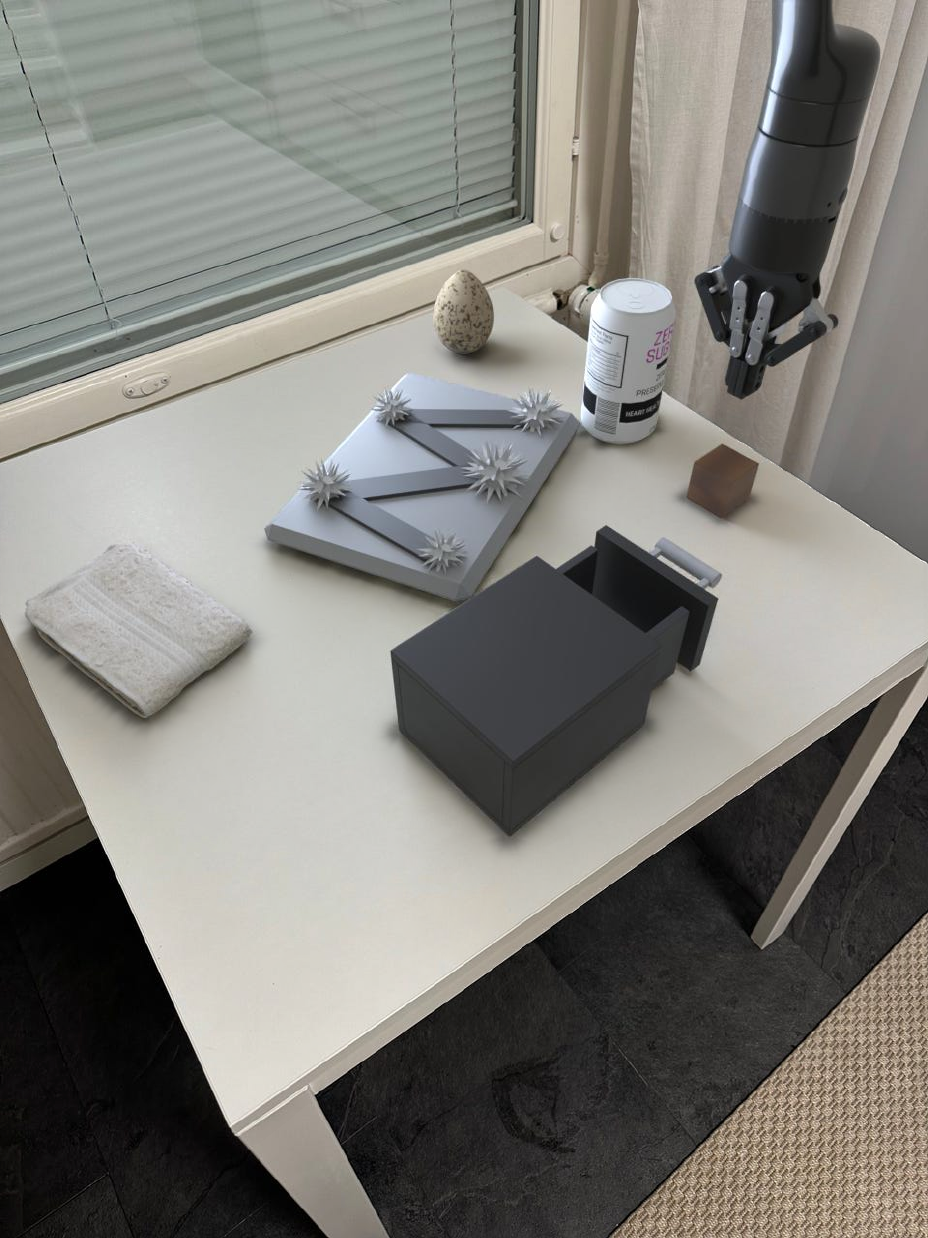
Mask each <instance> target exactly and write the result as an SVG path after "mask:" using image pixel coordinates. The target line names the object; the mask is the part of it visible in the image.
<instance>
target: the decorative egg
mask: <svg viewBox="0 0 928 1238" xmlns="http://www.w3.org/2000/svg"><path fill="white" fill-rule="evenodd" d="M491 298H492V297H491V296H490V293H489V291H488V290H487V288H486V286H485V285H484V284H483V282H482V281H481V279H479V278H478V277H477V275H475V274H474V273H473V272H472V271H470V270H468V269H460V270H457V271H456V272H454V273H453V274H452V275H451V276H449V278H448V279H447V280H446V281H445V282H444V284H443V285H442V287H441V289H440V290H439V292H438V294H437V297H436V300H435V302H434V307H433V316H432V317H433V318H432V319H433V326H434V330H435V333H436V335H437V338H438V339H439V341H440V342H441V343H442V344H443V346H444V347H445V348H447V349H448V350H450V351H451V352H453V353H456V354H462V355H465V354H471V353H474V352H476V351H477V350H479V349H481V348H482V347H483V346H484V345H485V344H486V343H487V342H488V340H489V339H490V336H491V334H492V331H493V327H494V323H495V311H494V305H493V301H492V299H491Z"/></svg>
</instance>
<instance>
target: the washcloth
mask: <svg viewBox="0 0 928 1238" xmlns="http://www.w3.org/2000/svg"><path fill="white" fill-rule="evenodd" d="M25 605H26V607H25V612H24V616H25V618H26V619H27V620H28V622H29V623H30V624H32V626H33V627H35V628H36V631H37V633H38V635H39V636H40V638H41V639H42V640H43V641H44V642H45V643H46V644H48V645H49V646H50V647H51V648H52V649H53V650H55V651H57V652H58V653H60V654H61V655H62V656H63V657H65V658H66V660H68V661H69V662H70V663H71V664H73V666H75V667H76V668H78V669H79V670H80V671H81V672H82V673H84V674H85V675H86V676H87V677H88V678H90V679H91V680H93V681H94V682H96V683H97V684H98V685H100V687H102V688H103V689H104V690H106V691H107V692H108V693H109V694H110V695H112V697H114V698H115V699H116V700H118V701H119V702H120V703H121V704H123V705H124V706H125V707H126V708H128V709H129V710H130V711H131V712H133V713H134V714H135V715H137V716H138V717H141V718H144V719H147V718H149V717H151V716H152V715H154V714H156V713H159V711H160V710H161V709H163V708H164V707H165V706H167V705H168V704H169V703H170V702H171V701H172V700H173V699H174V698H176V697H177V696H179V694H180V693H182V691H183V689H184V688H185V687H186V686H188V685H189V684H190V683H192V682H193V681H194V680H195V679H197V678H199V677H200V676H201V675H202V674H203V673H205V672H206V671H210V670H213V668H215V666H217V665H219V663H220V662H221V661H224V660H225V659H226V658H227V657H228V656H229V655H231V654H232V653H233V652H235V651H236V650H237V649H238V648H239V647H241V646H242V645H243V644H244V643H245V642H247V641H248V639H249V638H250V637H251V635H252V634H253V630H252V629H251V628H250V626H249V624H248V622H245V621H244V620H245V619H244V618H243V617H240V616H238V615H237V614H236V613H235V612H234V611H232V610H230V609H229V608H227V607H225V606H224V605H223V604H222V603H219V602H218V601H217V600H216V599H215V598H214V597H211V596H209V595H208V594H207V593H205V592H203V591H202V589H200V588H199V587H197V586H195V585H194V584H193V583H192V581H191V580H187V579H186V578H184V577H183V576H181V575H180V574H179V573H177V572H176V571H175V570H173V569H171V568H170V567H168V566H166V565H165V564H163V562H161V561H160V560H158V559H156V558H155V557H154V556H153V555H152V554H150V553H149V552H148V551H147V550H146V549H144V548H142V547H141V546H139V545H138V544H136V543H135V542H134V541H128V540H124V541H122V542H120V543H115V544H110V545H109V546H108V547H107V548H106V549H105V551H104V552H103V553H102V554H101V555H99V556H97V557H96V558H95V559H93V560H91V562H89V563H87V564H85V565H83V566H81V567H80V568H79V569H77V570H75V571H74V572H72V573H71V574H68V575H67V576H65V577H64V578H62V579H60V580H58V581H55V582H54V583H52V584H50V586H48V587H46V588H45V589H44V590H42V591H41V592H39V593H37V594H36V595H35V596H33V597H32V598H29V599H27V600H26V601H25Z"/></svg>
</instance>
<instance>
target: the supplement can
mask: <svg viewBox="0 0 928 1238" xmlns="http://www.w3.org/2000/svg"><path fill="white" fill-rule="evenodd" d="M590 307H591V308H590V316H589V317H590V318H589V327H588V337H587V345H586V347H587V348H586V355H585V357H586V358H585V368H584V378H583V386H582V398H581V407H580V421H581V422H580V423H581V425H582V426H583V428H584V429H585V430H586V431H587V432H588V433H589V434H590V435H591V436H593V437H594V438H596V439H597V440H599V441H601V442H605V443H609V444H613V445H614V444H616V445H626V444H634V443H637V442H639V441H641V440H643V439H645V438H646V437H649V436H650V435H651V434H652V433H653V432H654V431H655V430H656V427H657V423H658V420H659V413H660V409H661V408H660V407H661V402H662V396H663V390H664V385H665V380H666V374H667V367H668V361H669V356H670V350H671V344H672V339H673V335H674V334H673V333H674V328H675V323H676V316H677V310H676V308H675V305H674V302H673V295H672V293H671V291H670V290H669V289H668V288H667V287H666V286H665V285H663V284H662V283H659V282H656V281H654V280H650V279H646V278H638V277H634V278H633V277H628V278H618V279H614V280H612V281H609V282H607V283H606V284H604V285H603V286H602V287H601V288H600V291H599V293H598V295H597V296H596V297H595V299H594V301H593V303H592V304H591V306H590Z"/></svg>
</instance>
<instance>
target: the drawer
mask: <svg viewBox="0 0 928 1238" xmlns="http://www.w3.org/2000/svg"><path fill="white" fill-rule="evenodd" d="M594 539H595V540H594V546H593V545H589V546H587V547H586V548H585V549H584V550H582V551H580V552H579V553H578V554H576V555H574V556H573V557H571V558H570V559H568V560H567V561H565V562H564V563H562V564H561V565H559V566H558V567H556V568H555V569H556V570H558V571H559V572H561V573H562V574H563V575H565V576H566V577H568V578H569V579H570V580H572V581H573V582H575V583H576V584H577V585H579V586H580V587H581V588H583V589H584V590H586V591H587V592H588V593H590V594H591V595H593V596H594V597H595V598H597V599H598V600H600V601H601V602H602V603H604V604H605V605H607V606H608V607H609V608H611V609H612V610H614V611H615V612H616V613H618V614H619V615H621V616H622V617H623V618H625V619H626V620H628V621H629V622H630V623H632V624H633V625H635V626H636V627H637V628H639V629H640V630H641V631H643V632H644V633H646V634H647V635H648V636H650V637H651V638H653V639H654V640H655V641H657V642H658V643H660V644H661V645H662V648H661V652H660V657H659V661H658V666H657V670H656V674H655V679H654V683H653V687H652V692H653V691H654V690H655V689H656V688H658V687H659V686H660V685H662V684H663V683H664V682H665V681H667V680H668V679H669V678H670V677H671V676H673V675H674V674H675V670H676V667H677V664H679V665H680V666H681V667H683V668H685V669H686V670H687V671H688V672H693V671H694V670H695V669H697V667H699V666H700V665H701V662H702V658H703V654H704V651H705V648H706V643H707V640H708V638H709V633H710V630H711V626H712V623H713V619H714V616H715V612H716V609H717V605H718V602H719V597H717V596H715V595H714V594H712V593H711V592H709V590H706V589H707V588H708V587H710V588H711V589H714V588H715V587H717V586H718V585H719V583H720V582H721V580H722V578H723V574H722V573H721V572H719V571H718V570H716V569H715V568H714V567H712V566H711V565H709V564H707V563H706V562H704V561H702V560H701V559H699V558H698V557H696V556H694V554H691V553H690V552H688V551H687V550H685V549H684V548H682V547H680V546H679V545H677V544H676V543H674V542H673V541H671V540H669V539H668V538H667V537H665V536H663V537H661V538H659V539H658V540H657V542H656V543H655V545H654V548H653V549H652V550H650V551H649V552H648V551H647V550H645V549H643V548H642V547H641V546H639V545H637V544H636V543H635V542H634V541H632V540H630V539H628V538H627V537H625V536H623V535H622V534H621V533H619V532H618V531H616V530H615V529H613V528H611V527H610V526H609V525H607V524H605V525H603V526H602V527H601V528H599V529H597V530H596V532H595V538H594ZM660 556H662V557H663V558H665V559H666V560H668V561H669V562H671V563H673V564H674V565H675V566H677V567H678V568H680V569H681V570H683V571H684V572H686V573H687V574H689V575H691V576H692V577H694V578H695V579H697V580H698V582H697V583H696V582H694V581H693V580H691V579H689V578H688V577H686V576H685V575H683V574H682V573H680V572H679V571H677V570H676V569H675V568H672V567H671V566H670V565H668V564H667V563H666V562H664V561H662V560H661V559H659V557H660Z"/></svg>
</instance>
